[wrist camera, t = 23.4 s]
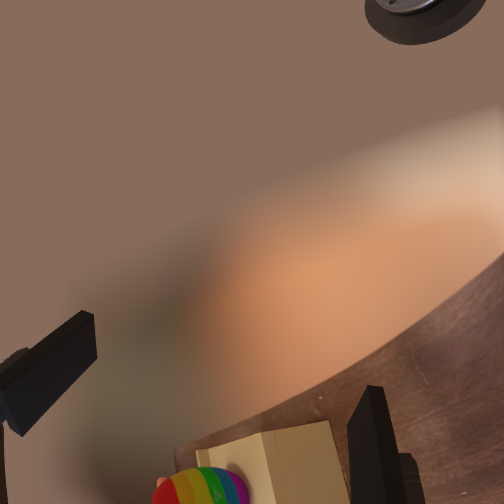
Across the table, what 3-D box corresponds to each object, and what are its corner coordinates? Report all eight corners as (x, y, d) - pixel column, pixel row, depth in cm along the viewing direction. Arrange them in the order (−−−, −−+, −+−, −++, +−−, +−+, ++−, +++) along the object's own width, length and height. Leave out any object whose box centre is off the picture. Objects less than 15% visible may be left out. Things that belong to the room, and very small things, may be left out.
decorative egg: (253, 470, 27) (158, 481, 23) (258, 532, 24) (167, 548, 19) (221, 458, 34) (142, 462, 29) (225, 512, 30) (149, 520, 26)
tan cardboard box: (261, 443, 42) (195, 450, 37) (328, 419, 32) (246, 433, 27) (278, 520, 34) (212, 536, 29) (354, 522, 24) (274, 555, 19)
